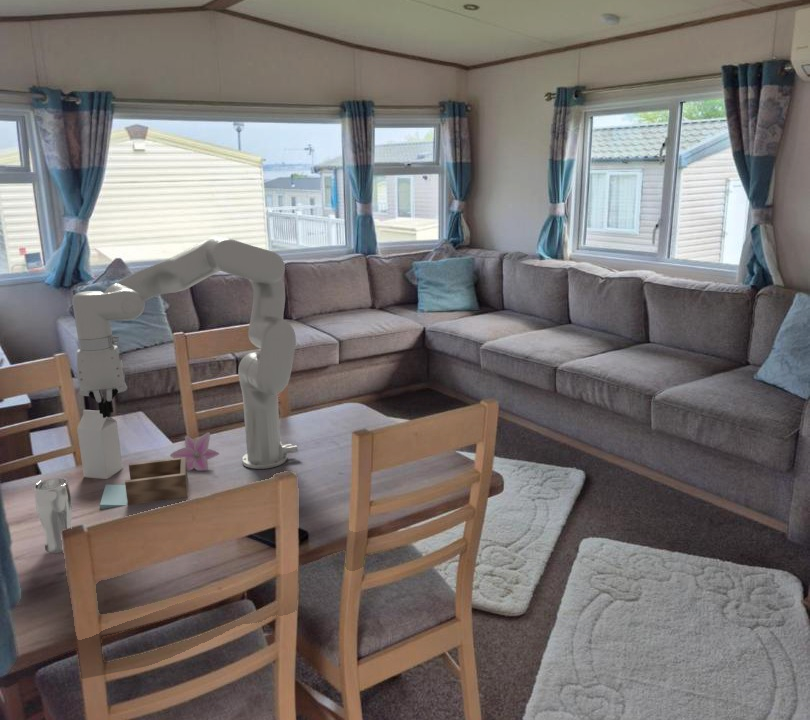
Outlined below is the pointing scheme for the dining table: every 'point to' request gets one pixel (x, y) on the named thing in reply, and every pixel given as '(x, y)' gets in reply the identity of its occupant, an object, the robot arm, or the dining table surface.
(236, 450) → the dining table surface
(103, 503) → the tailgate
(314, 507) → the dining table surface
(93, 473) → the milk carton
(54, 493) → the beer glass
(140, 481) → the box
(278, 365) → the robot arm
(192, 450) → the lily
